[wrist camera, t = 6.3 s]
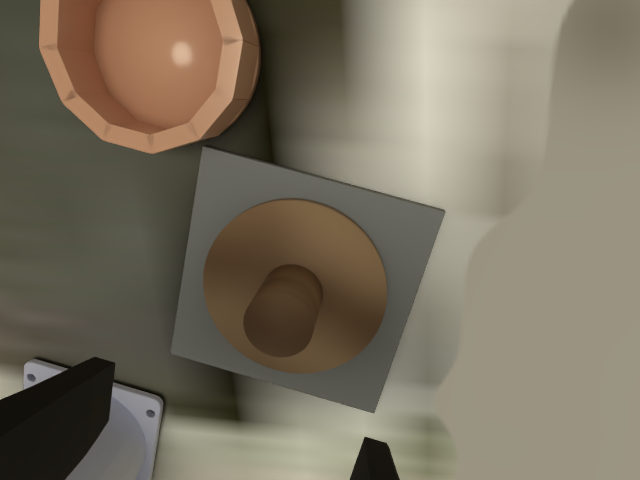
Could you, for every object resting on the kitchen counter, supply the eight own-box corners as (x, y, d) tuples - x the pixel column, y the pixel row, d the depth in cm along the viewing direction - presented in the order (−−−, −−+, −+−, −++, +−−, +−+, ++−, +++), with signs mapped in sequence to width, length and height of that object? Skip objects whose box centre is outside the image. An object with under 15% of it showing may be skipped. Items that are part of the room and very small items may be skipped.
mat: (373, 408, 23) (374, 413, 22) (173, 349, 23) (170, 353, 23) (443, 209, 19) (445, 212, 19) (206, 145, 20) (202, 146, 19)
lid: (365, 381, 22) (363, 438, 18) (200, 344, 23) (166, 391, 19) (406, 219, 19) (412, 247, 16) (217, 180, 20) (180, 199, 16)
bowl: (242, 162, 20) (220, 172, 17) (84, 119, 20) (36, 122, 17) (278, -25, 17) (258, -49, 15) (97, -70, 18) (43, -103, 15)
